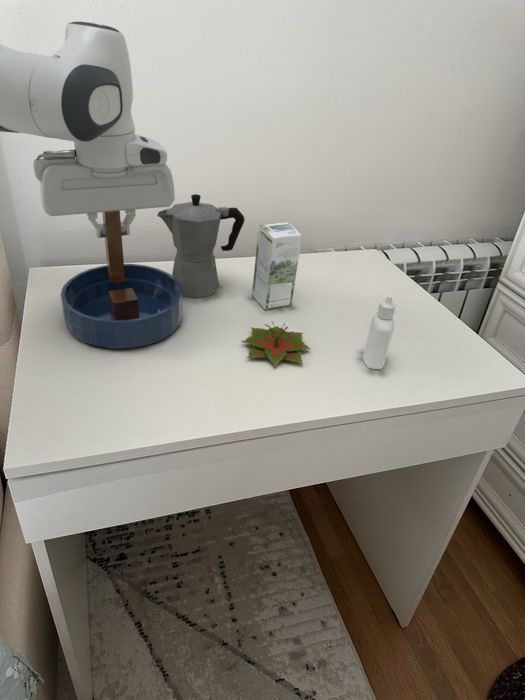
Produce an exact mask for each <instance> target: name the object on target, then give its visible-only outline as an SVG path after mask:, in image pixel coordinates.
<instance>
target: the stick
mask: <svg viewBox="0 0 525 700" xmlns="http://www.w3.org/2000/svg"><path fill="white" fill-rule="evenodd" d="M101 215H102V224H104V226H105V228H106V237H104V245H105V256H106V265H107V268H108V277H109V279H110V281H111V283H115V282H123V281H125V272H124V264H125V260H124V249H123V248H124V247H123V236H122V233H121V222H122V220H121V211H110V212H101Z"/></svg>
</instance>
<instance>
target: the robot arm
mask: <svg viewBox="0 0 525 700" xmlns="http://www.w3.org/2000/svg"><path fill="white" fill-rule="evenodd" d="M130 60H131V59H130V53H129V49H128V45H127V41H126V38H125V35H124V34H123V33H122V32H121V31H120V30H118V29H117V28H115V27H113V26H109V25H105V24H98V23H94V22H89V21H88V22H87V21H72V22H68V23H67V24H66V25H65V32H64V43H63V45H62V46H61V47H60V48H59V49H58V50H57V51H56V52H54V53H52V55H45V54H38V53H32V52H24V51H20V50H16V49H12V48H10V47H8V46H5V45H3V44H2V43H0V132H1V133H13V134H14V133H15V134H26V135H33V136H38V137H42V138H47V139H57V140H63V141H68V142H73V146H74V149H63V150H56V151H55V150H54V151H53V150H44V151H42V153H40V154H38V155H37V156H36V157H35V158H34V160H33V164H32V165H33V170H34V175H35V178H36V180H37V181H39V182H40V183H39V187H40V189H39V191H40V201H41V206H42V209H43V212H45V213H46V214H47V215H48V216H50V217H61V216H70V215H71V216H72V215H73V216H74V215H85V214H86V217H87V219H88V221H89V222H90V224H91V225H92V226H93V227H94V231H95V236H96V238H97V239H102V238H104V239H105V237H106V228H105V226H104V224H103V223H99V222H98V221H97V219H98V218H99V217H98V213H102V212H110V211H120V212H121V211H122V212H123V211H124V213H125V216H124V219H123V221H121V233H122V237H123V236H130V234H131V230H130V226H131V225H132V223H133V221H134V219H135V218H136V215H137V214H136V210H145V209H146V210H147V209H158V208H171V206H172V205H173V204H174V201H175V198H176V197H175V186H174V185H175V184H174V179H173V177H174V176H173V174H172V171H171V169H170V167H169V166H168V165H167V161H168V152H167V151H166V149H165V148H164V146H163V145H162V144H161V143H159V142H158V141H157V140H155V139H154V138H151V137H147V136H144V135H140V134H137V133H136V125H135V121H134V120H133V116H132V105H133V100H134V89H133V74H132V66H131V61H130Z"/></svg>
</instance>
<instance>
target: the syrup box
mask: <svg viewBox="0 0 525 700" xmlns="http://www.w3.org/2000/svg"><path fill="white" fill-rule="evenodd" d="M257 229H258V231H257V240H256V249H255V250H256V251H255V259H254V260H255V261H254V270H253V271H254V272H253V282H252V289H251V290H252V292H251V296H252V297H253V298H254V300H256V302H257V303H258V304H259V305H260V306H261V307H262V308H263V309H264V310H265V311H267V310H274V309H278V308H285V307H290V306H292V304H293V298H294V291H295V286H296V278H297V273H298V264H299V260H300V259H299V258H300V254H301V253H300V251H301V247H302V246H301V245H302V239H303V235H302V234H301V233H300V231H298V230H297V229H296V228H295V227H294V226H293V225H292V224H290V223H288V222H287V221H286V222H278V223H269V224H260V225H258V228H257Z"/></svg>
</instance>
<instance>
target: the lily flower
mask: <svg viewBox="0 0 525 700" xmlns="http://www.w3.org/2000/svg"><path fill="white" fill-rule="evenodd" d="M271 325H273V327H271V326H270V325H268V324H266V323H264V326H266V327H268V328H269V329H266V328H261V327H252V326H251V334H252V335H251V336H248V337H247V338H245V340H242V341H241V343H244V344H248V345H251V346H252V347H251V348H250V349H249V351H248V356H247V357H246V359H254V358H256V359H258V358H268V359H269V361H270V363H272V364H273V367H274V368H276V366H277V365H278V364H279V363H280V362H281V361H283V360H286V361H289V362H293V363H296V364H301V365H304V363H303V359H302V354H301V353H300V350H312V348H310V347H309V346H308V345H307V344H305V342H303V340H301V339H302V337H303V334H304V332H298V331H297V332H295V331H287V329H288V328H289V326H285V325H286V322H284V323H283V325H282V326H281V327H279V323H278V324H277V325H276V326H275V324H274V322H273V321H272V320H271ZM284 326H285V327H284Z"/></svg>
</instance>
